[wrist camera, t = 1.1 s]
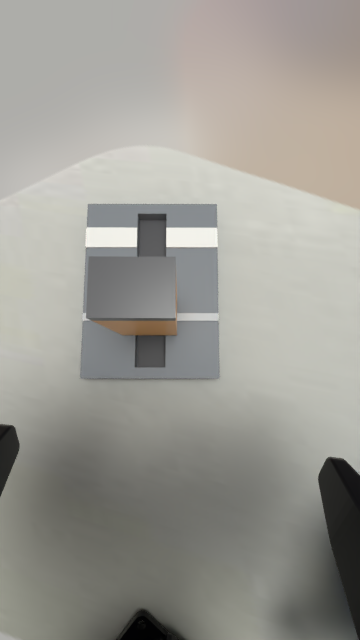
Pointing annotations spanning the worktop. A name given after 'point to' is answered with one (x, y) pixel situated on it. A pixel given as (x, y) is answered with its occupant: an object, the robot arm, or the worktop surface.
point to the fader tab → (133, 294)
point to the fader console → (192, 291)
